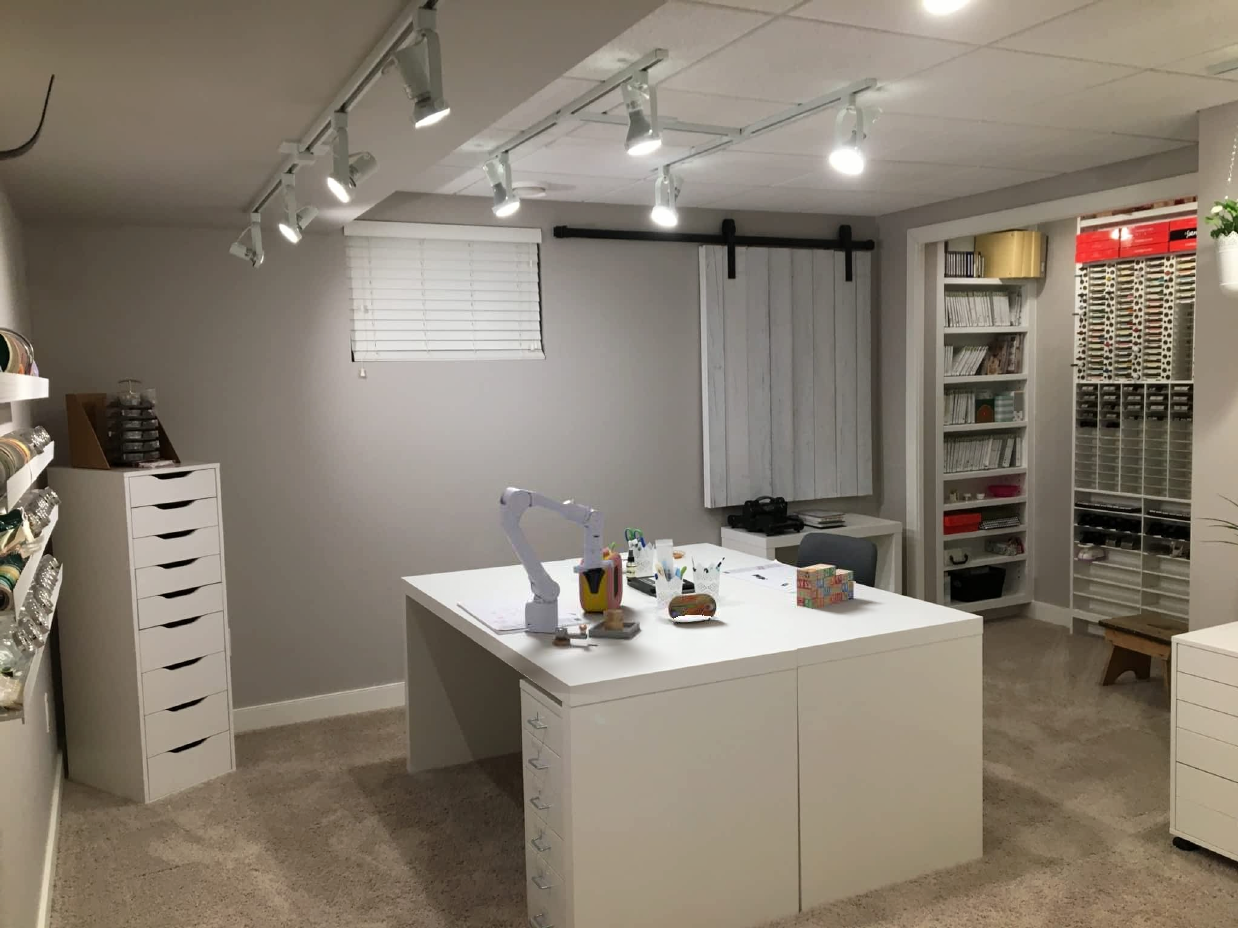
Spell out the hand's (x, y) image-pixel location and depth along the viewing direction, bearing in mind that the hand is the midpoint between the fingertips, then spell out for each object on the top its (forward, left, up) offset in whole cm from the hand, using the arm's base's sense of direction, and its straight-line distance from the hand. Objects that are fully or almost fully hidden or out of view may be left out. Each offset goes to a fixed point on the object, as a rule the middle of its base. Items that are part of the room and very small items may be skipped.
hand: (594, 593), depth 306 cm
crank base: (+2, -24, -9) cm, 26 cm away
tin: (+28, +10, -10) cm, 31 cm away
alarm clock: (-4, +19, -10) cm, 22 cm away
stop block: (+9, -9, -9) cm, 16 cm away
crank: (+1, -24, -8) cm, 25 cm away
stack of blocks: (+65, +45, -10) cm, 80 cm away
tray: (+9, -9, -9) cm, 16 cm away
